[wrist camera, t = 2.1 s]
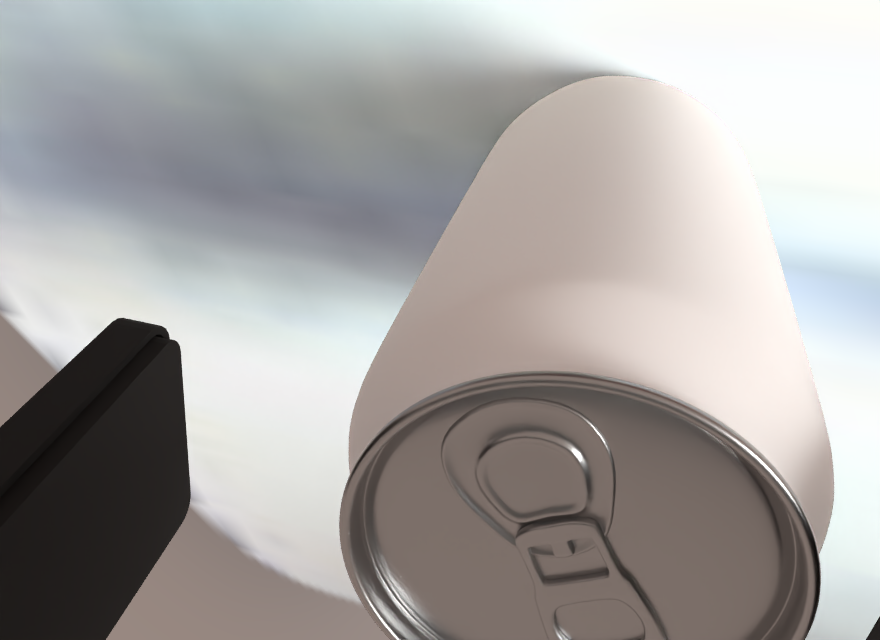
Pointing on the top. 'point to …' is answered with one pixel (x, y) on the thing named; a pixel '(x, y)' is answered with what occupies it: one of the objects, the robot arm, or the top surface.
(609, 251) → the can
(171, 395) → the robot arm
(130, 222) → the top surface
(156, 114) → the top surface
